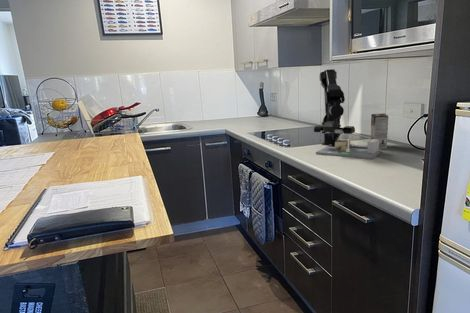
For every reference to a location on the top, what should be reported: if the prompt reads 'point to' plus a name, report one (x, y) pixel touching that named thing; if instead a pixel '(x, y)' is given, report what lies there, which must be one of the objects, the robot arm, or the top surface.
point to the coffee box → (379, 129)
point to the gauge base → (354, 151)
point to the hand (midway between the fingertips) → (333, 146)
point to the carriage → (342, 145)
